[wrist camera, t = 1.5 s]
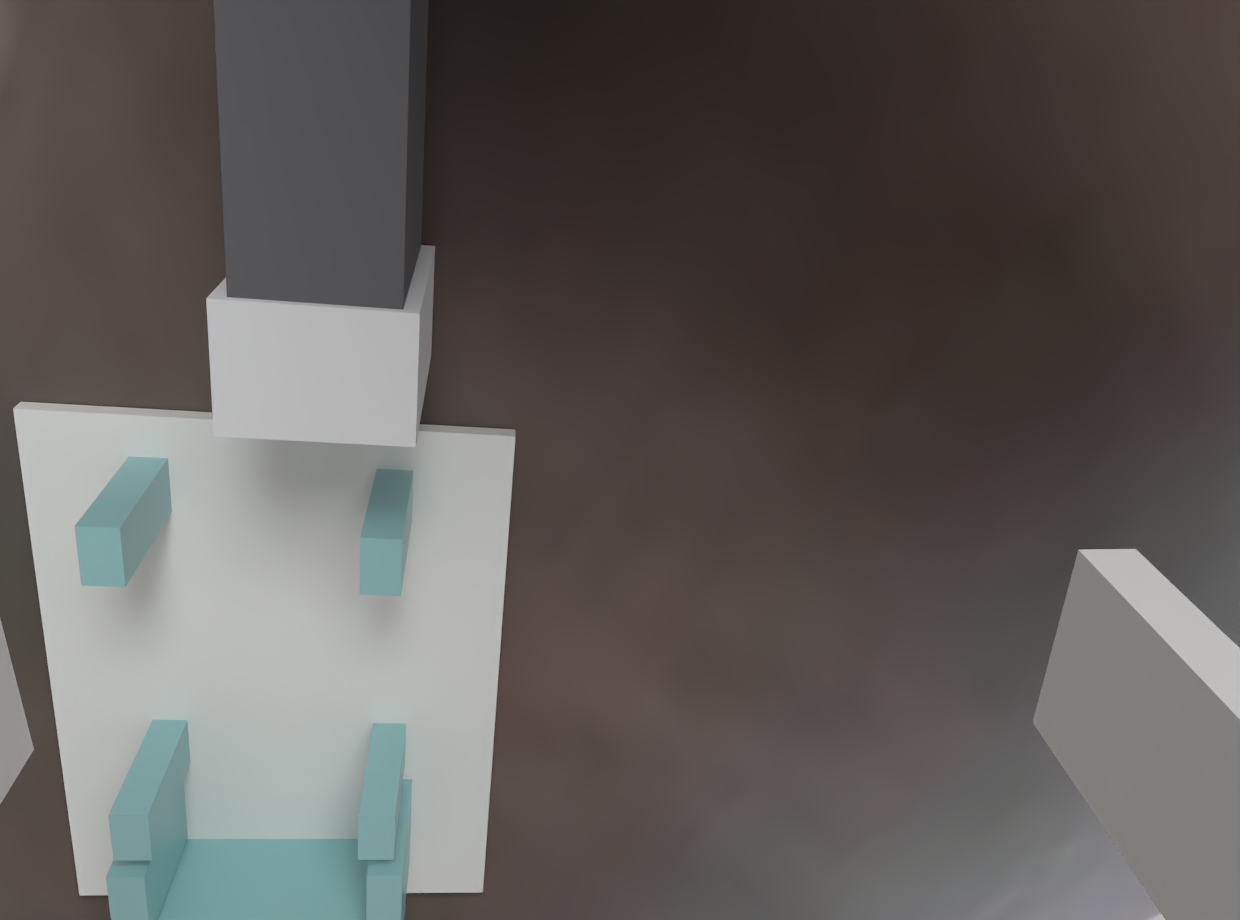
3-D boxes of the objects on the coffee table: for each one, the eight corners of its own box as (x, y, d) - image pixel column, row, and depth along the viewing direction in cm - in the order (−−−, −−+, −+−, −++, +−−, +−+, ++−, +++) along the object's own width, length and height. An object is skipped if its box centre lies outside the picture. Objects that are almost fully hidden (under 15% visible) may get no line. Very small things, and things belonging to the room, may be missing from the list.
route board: (20, 401, 27) (-62, 473, 23) (515, 429, 29) (518, 500, 25) (84, 883, 34) (29, 1004, 30) (482, 881, 36) (481, 994, 32)
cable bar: (252, -287, 22) (169, -381, 16) (452, -257, 23) (439, -338, 17) (270, 345, 28) (213, 436, 22) (431, 355, 28) (415, 447, 23)
